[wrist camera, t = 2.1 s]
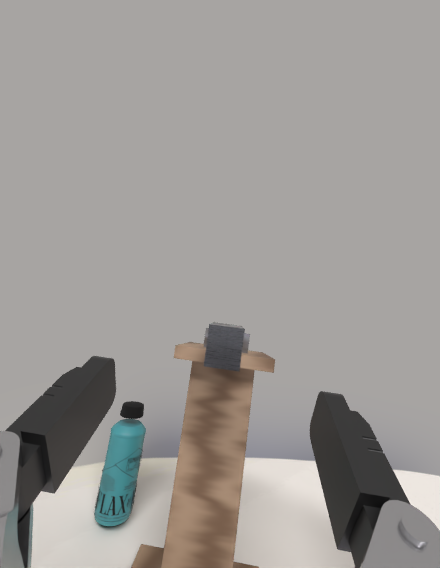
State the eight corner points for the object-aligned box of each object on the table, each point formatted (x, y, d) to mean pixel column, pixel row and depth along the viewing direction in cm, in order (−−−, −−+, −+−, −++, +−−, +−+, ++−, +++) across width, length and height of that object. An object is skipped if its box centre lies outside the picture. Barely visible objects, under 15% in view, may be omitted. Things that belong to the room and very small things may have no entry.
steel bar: (236, 346, 40) (239, 323, 40) (239, 371, 22) (244, 328, 22) (216, 343, 40) (219, 320, 40) (203, 366, 22) (209, 324, 23)
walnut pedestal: (257, 582, 39) (280, 338, 46) (275, 747, 24) (307, 341, 30) (138, 559, 40) (177, 324, 47) (80, 702, 25) (150, 319, 31)
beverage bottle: (82, 530, 44) (107, 403, 48) (106, 506, 51) (127, 396, 54) (116, 542, 43) (140, 411, 46) (137, 516, 49) (156, 402, 53)
